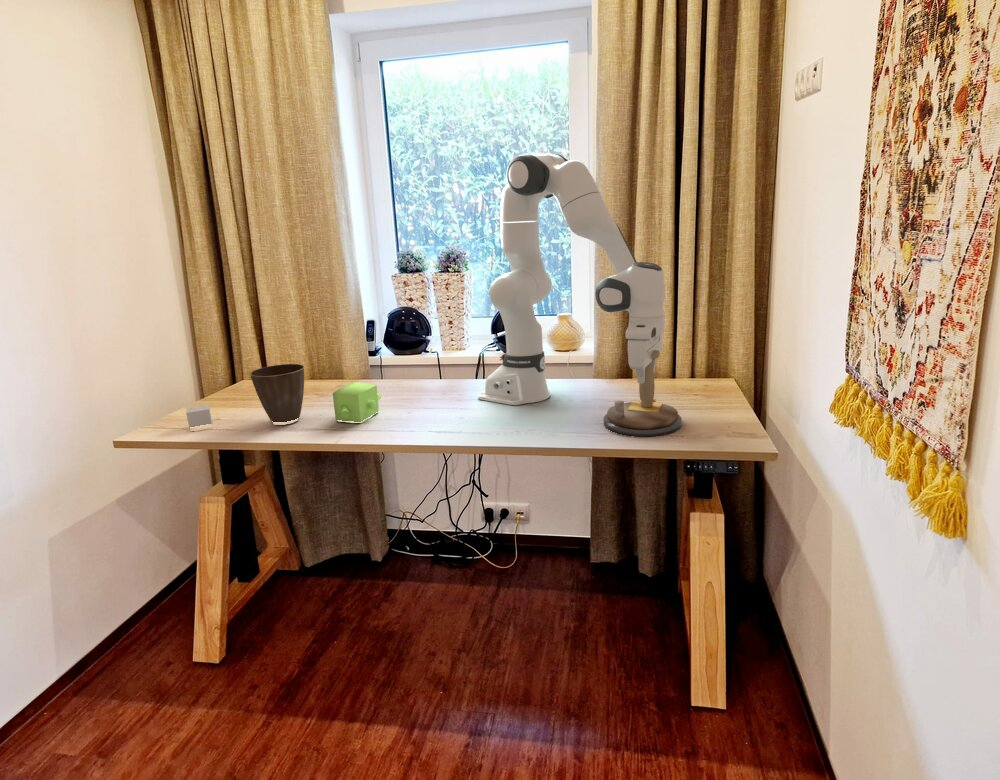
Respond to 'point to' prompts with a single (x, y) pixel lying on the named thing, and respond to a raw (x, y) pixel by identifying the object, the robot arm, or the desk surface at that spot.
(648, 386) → the handle
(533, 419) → the desk surface
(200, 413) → the grey cube
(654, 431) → the wheel base
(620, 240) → the robot arm
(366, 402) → the gearbox
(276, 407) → the plant pot
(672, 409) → the disc
